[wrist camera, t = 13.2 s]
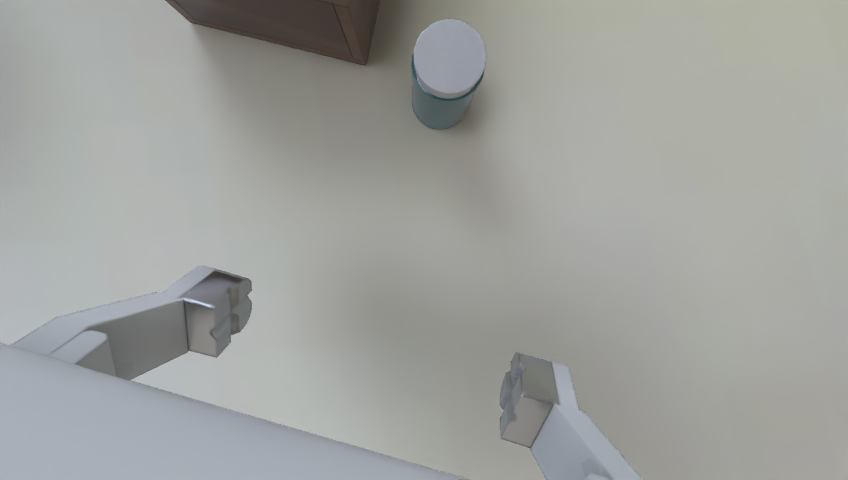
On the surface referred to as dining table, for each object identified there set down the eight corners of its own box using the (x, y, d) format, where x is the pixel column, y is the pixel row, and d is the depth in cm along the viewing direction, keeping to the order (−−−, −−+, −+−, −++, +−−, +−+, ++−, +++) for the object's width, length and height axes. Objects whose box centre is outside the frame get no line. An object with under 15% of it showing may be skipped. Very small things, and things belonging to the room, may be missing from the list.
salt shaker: (473, 80, 28) (496, 27, 20) (460, 135, 29) (478, 103, 21) (418, 67, 28) (421, 7, 20) (406, 122, 28) (403, 85, 20)
